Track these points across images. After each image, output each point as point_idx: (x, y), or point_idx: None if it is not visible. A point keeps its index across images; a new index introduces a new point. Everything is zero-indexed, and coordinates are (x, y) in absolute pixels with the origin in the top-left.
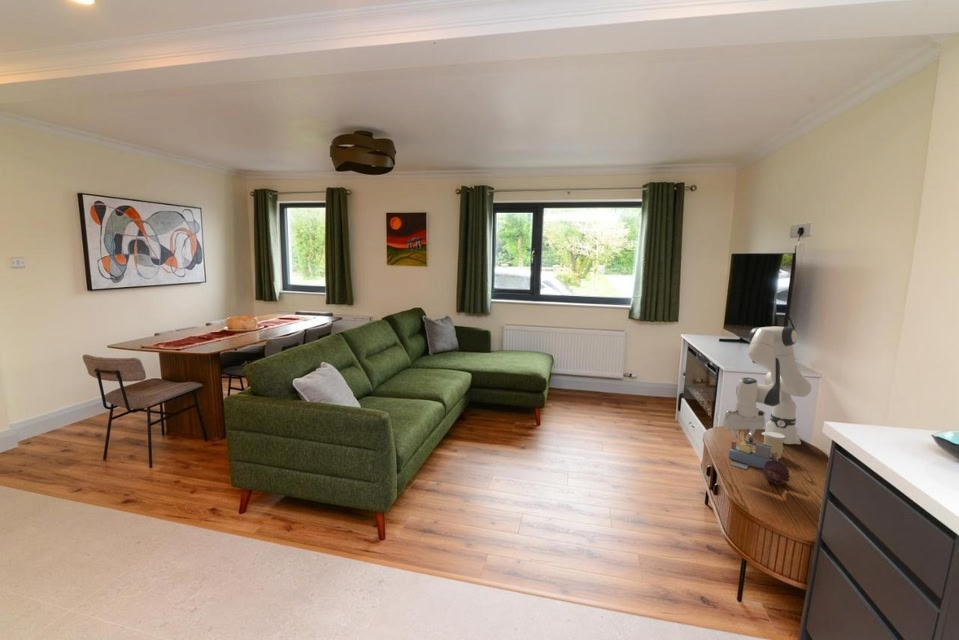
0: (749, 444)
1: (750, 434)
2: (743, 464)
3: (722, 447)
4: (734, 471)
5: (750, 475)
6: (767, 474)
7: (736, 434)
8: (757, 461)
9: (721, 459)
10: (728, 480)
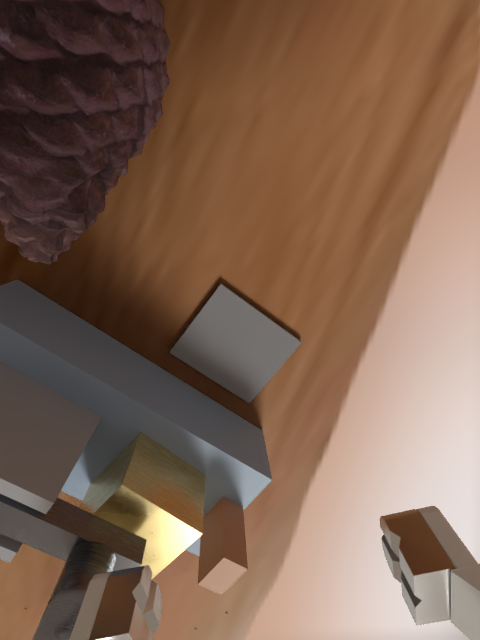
0: None
1: (116, 631)
2: (205, 358)
3: None
4: (326, 242)
5: (236, 188)
6: (158, 1)
7: (448, 569)
8: (105, 360)
9: (313, 417)
10: (471, 58)
